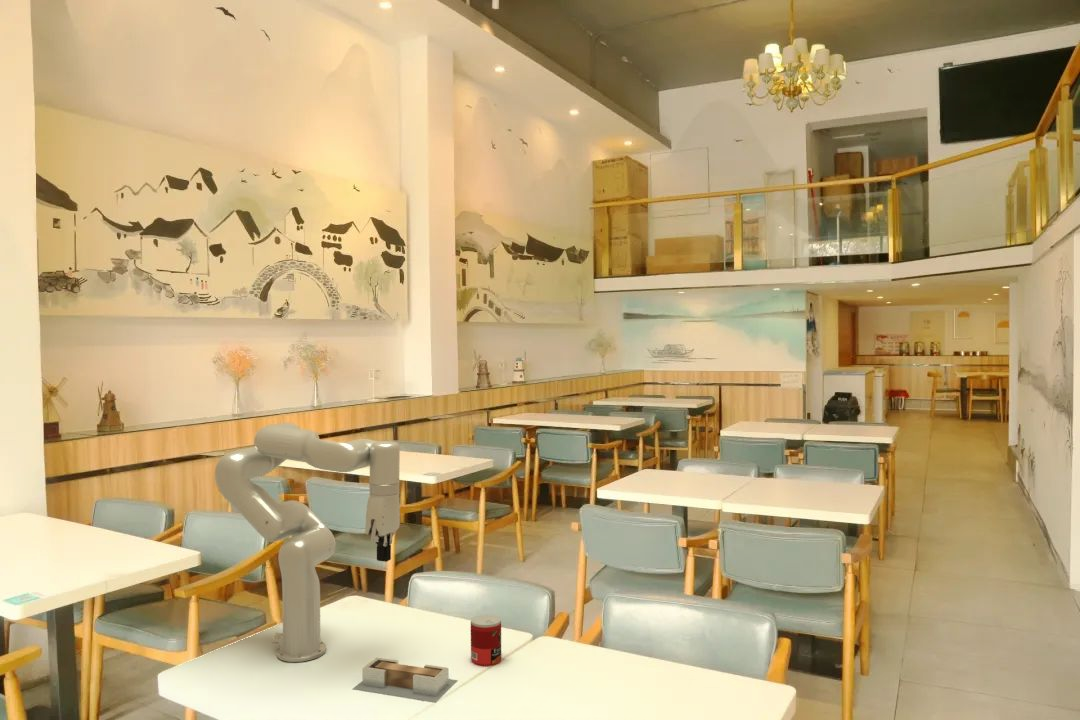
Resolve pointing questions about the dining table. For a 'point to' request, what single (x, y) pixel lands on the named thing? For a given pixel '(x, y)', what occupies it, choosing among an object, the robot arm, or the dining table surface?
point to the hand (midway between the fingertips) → (383, 560)
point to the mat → (404, 692)
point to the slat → (404, 674)
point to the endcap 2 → (431, 682)
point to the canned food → (486, 640)
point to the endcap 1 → (375, 673)
